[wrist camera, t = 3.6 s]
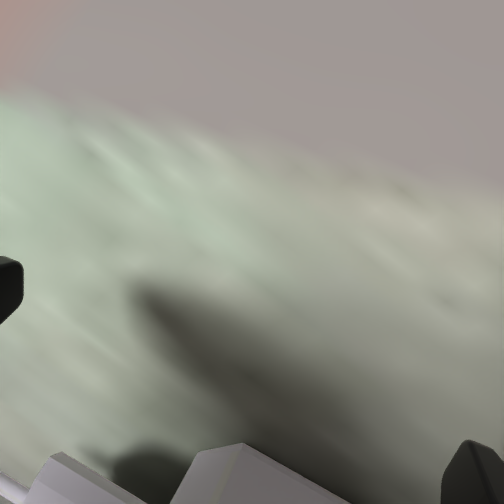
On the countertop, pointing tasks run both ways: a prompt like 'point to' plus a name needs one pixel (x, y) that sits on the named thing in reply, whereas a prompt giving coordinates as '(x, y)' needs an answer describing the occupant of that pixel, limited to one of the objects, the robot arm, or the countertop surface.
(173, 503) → the charger
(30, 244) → the countertop surface
